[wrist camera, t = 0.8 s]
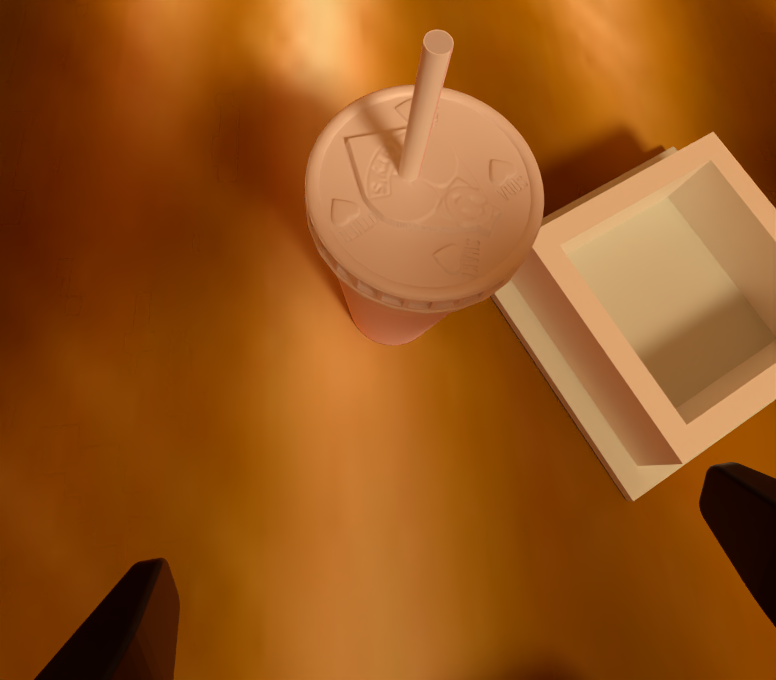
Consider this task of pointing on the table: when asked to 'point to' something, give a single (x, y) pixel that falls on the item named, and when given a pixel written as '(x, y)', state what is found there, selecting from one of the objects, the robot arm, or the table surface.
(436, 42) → the smoothie
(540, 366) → the cream square tray
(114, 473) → the table surface
